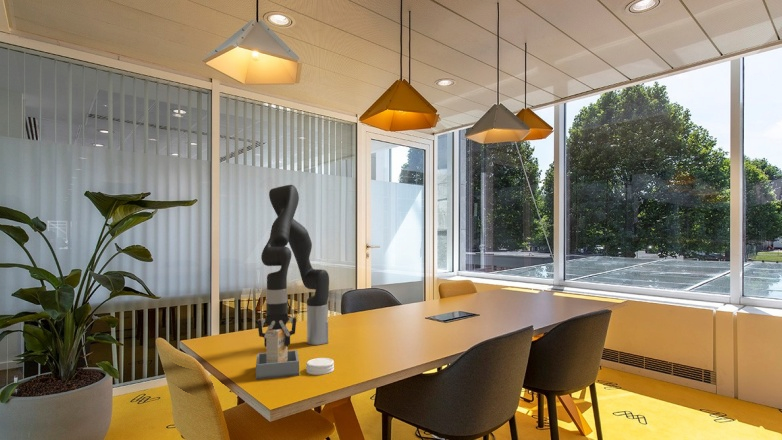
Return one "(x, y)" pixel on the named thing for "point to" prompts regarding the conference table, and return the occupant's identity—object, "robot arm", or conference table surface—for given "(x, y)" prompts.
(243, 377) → the conference table surface
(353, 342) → the conference table surface
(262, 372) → the bin
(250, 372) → the conference table surface
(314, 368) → the white short cylinder
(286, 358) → the supplement box
